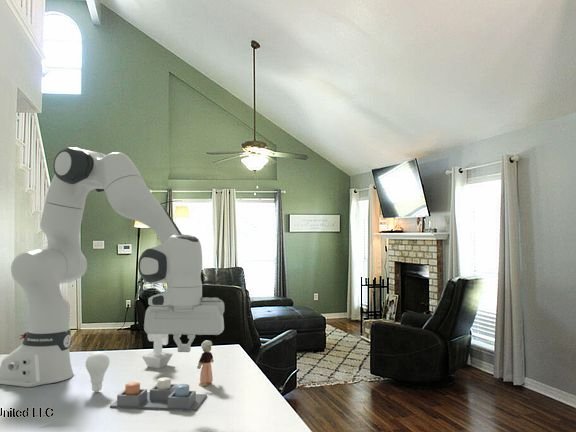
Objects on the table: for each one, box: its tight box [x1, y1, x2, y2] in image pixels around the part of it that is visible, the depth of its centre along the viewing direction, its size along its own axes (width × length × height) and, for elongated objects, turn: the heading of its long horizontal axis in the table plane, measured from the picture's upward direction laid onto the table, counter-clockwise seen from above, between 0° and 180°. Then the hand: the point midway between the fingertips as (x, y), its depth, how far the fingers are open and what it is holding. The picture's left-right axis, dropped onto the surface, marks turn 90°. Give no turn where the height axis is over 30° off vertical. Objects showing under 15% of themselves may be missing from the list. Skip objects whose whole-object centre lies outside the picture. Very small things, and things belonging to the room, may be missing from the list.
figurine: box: [141, 334, 174, 369], centre depth 157 cm, size 7×9×15 cm
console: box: [109, 383, 208, 412], centre depth 122 cm, size 22×11×3 cm, turn 86°
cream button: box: [156, 376, 172, 390], centre depth 125 cm, size 4×4×3 cm
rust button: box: [124, 381, 141, 395], centre depth 120 cm, size 4×4×3 cm
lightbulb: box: [85, 351, 110, 393], centre depth 130 cm, size 6×6×11 cm
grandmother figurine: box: [196, 339, 214, 387], centre depth 138 cm, size 8×4×13 cm, turn 168°
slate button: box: [175, 383, 190, 397], centre depth 119 cm, size 4×4×3 cm
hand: (184, 351), depth 120 cm, fingers closed
